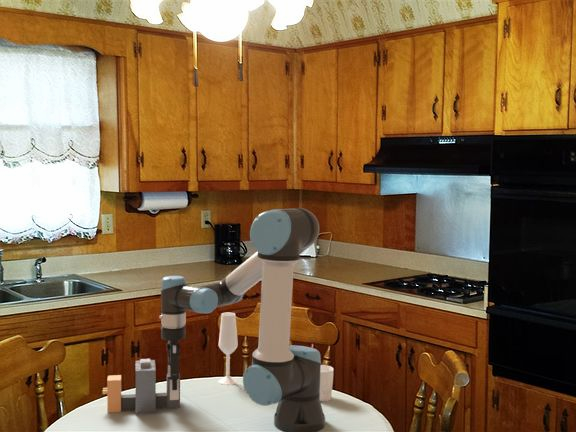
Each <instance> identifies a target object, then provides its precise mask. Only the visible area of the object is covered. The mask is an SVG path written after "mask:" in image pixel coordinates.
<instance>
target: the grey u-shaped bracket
mask: <svg viewBox="0 0 576 432" xmlns="http://www.w3.org/2000/svg"><path fill="white" fill-rule="evenodd" d="M156 368H157V367H156V360H155V359H151V358H140V359H139V360H135V394H136V410H135V415H150V414H151V415H152V414H153V415H154V414H156V410H157V409H156V393H157V391H156V390H157V389H156V386H157V385H156V384H157V383H156V382H157V381H156V377H157V375H156V374H157V373H156V371H157V369H156Z"/></svg>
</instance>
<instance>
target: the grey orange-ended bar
mask: <svg viewBox="0 0 576 432" xmlns="http://www.w3.org/2000/svg"><path fill="white" fill-rule="evenodd" d="M180 374H181V373H180V372H179V400H170V380H168V377H170V374H168V373H167V374H166V392H156V410H159V409H163V410H164V409H180V408H181V375H180ZM173 375H177V374H173ZM106 380H107V381H106V382H107V384H106V385H107V386H106V387H103V388H102V395H107V398H106V401H107V407H106V408H107V410H106V411H107V412H106V413H107V414H109V413H121V412H122V411H123V412H125V411H136V393H133V394H132V393H131V394H122V374H116V375H115V374H113V375H107V379H106Z"/></svg>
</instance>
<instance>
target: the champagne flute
mask: <svg viewBox="0 0 576 432" xmlns="http://www.w3.org/2000/svg"><path fill="white" fill-rule="evenodd" d="M218 337H219V339H218V347H219V349H220V351H221V352H222V353H224V354H225V357H226V359H225V361H226V362H225V365H226V366H225V367H226V368H225V369H226V370H225V371H226V372H225V374H226V375H225V376H224V377H222V378H221V379H219V380H218V381H217V382H218V383H219V384H221V385H228V386H229V385H234V384H237V383H238V380H237V379H235V378H233V377H232V376H230V374H231V373H230V372H231V371H230V369H231V367H230V364H231V363H230V361H231V357H230V356H231V354H233V353H234V352H235V351H236V349H237V348H238V347H239V346H238V345H239V344H238V343H239V342H238V341H239V340H238V330H237V318H236V313H235V312H222V313H221V319H220V327H219V335H218Z"/></svg>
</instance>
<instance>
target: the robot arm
mask: <svg viewBox="0 0 576 432" xmlns="http://www.w3.org/2000/svg"><path fill="white" fill-rule="evenodd" d="M319 235H320V223H319V220H318V219H317V217H316V215H315V214H314V213H312V212H311V211H310V210H308V209H306V208H303V207H294V208H293V207H292V208H279V209H277V208H275V209H270V210H266V211H263V212H261V213H260V214H258V215H257V216H256V217H255V219H254V220H253V222H252V224H251V226H250V231H249V238H250V243H251V245H252V246H253V248H254V250H255V251H256V252H255V253H254V254H252V255H251V256H250V257H249V258H247V259H246V260H245V261H244V262H242V263H241V264H240V265H239V266H237V267H236V268H235V269H234V270H233V271H231V272H230V273H229V274H228V275H226V276H225V277H224V278H222V280H220V281H219V282H214V283H213V282H212V283H209V284H203V285H199V286H198V285H194V286H193V285H188V284H187V281H186V280H187V279H186V278H185V277H184V276H182V275H167V276H164V277H163V278H162V279H161V285H160V308H161V309H160V310H161V311H160V312H161V313H160V314H161V315H159V317H158V319H160V321H161V327H160V337H161V339H162V340H164V341H168V342H167V343H166V352H167V374H170V377H168V380H170V400H179V373H180V367H179V366H180V362H179V361H180V350H181V345H180V342H178V341H181V340H183V339H185V338H186V323H187V322H186V320H187V316H186V315H187V314H186V313H187V312H186V311H188V312H193V313H198V314H211V313H212V312H213V311H215V309H216V308H220V307H225V306H230V305H233V304H236V303H239V302H240V301H242V300H243V297H244V295H245V293H246V292H247V291H248V290H251V288H252V287H254V286H255V285H256V284H258V283H259V282H260V281H261V286H260V287H261V291H260V309H259V311H260V312H259V327H258V328H259V330H258V347H257V348H256V349H255V350H254V351H253V352H252V357H251V358H252V360H251V365H249V366H248V367H247V368H246V369H245V370H244V372H243V375H242V383H243V388H244V390H245V392H246V394H247V395H248V396H249V398H250V399H251V401H253V403H256V404H257V405H260V406H270V405H275V404H277V407H276V410H275V412H274V417H273V425H274V426H275V427H276V428H277V429H279V430H281V431H284V432H319V431H321V430H322V429H324V427H325V426H326V416H325V413H324V412H323V411H324V410H323V406H322V403H321V402H322V401H320V366H321V365H322V362H321V353H320V351H319V350H318V349H316V348H313V347H311V346H310V347H309V346H304V345H295V344H294V345H293V344H292V345H290V338H291V322H292V321H291V319H292V318H291V317H292V305H293V304H292V302H293V301H292V299H293V285H294V284H293V282H294V266H295V264H297V263H298V262H299V261H300V259H301V258H300V256H301V255H302V253H303V252H305V251H306V250H307V249H309V248H310V247H312V245H314V244H315V243H316V241H317V240H318V238H319ZM173 374H177V375H173Z"/></svg>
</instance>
